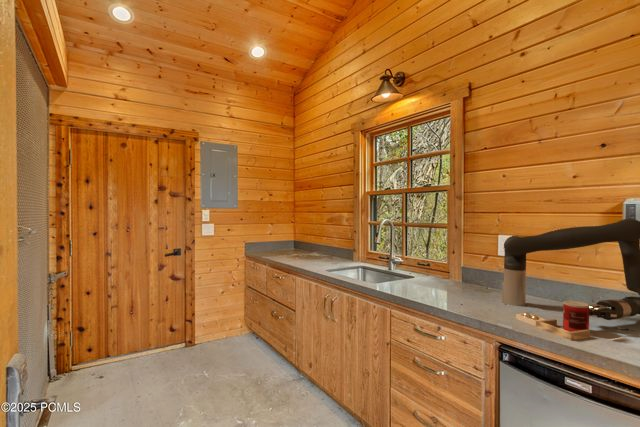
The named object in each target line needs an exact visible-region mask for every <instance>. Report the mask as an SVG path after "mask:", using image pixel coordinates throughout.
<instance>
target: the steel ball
mask: <svg viewBox="0 0 640 427" xmlns="http://www.w3.org/2000/svg"><path fill="white" fill-rule="evenodd" d="M531 315H532V314H531ZM531 315H530V313H529V312H528V311H527V312H524V313H523V316H525V317H527V318H530V319H531Z"/></svg>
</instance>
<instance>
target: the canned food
mask: <svg viewBox="0 0 640 427" xmlns="http://www.w3.org/2000/svg"><path fill="white" fill-rule="evenodd" d="M589 306H590V305H589V303H585V302H583V301H578V300H563V308H562V315H563V316H562V329H563V330H566V331H569V332H573V331H580V330H590V316H589Z"/></svg>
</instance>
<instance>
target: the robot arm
mask: <svg viewBox="0 0 640 427" xmlns="http://www.w3.org/2000/svg"><path fill="white" fill-rule="evenodd" d="M614 242H615V243H616V242H617V243H618V246H619V249H620V254H621V259H622V265H623V266H622V267H623V272H624V274H623V275H624V280H625V286H626V289H627V291H630V292H634V293H636V294H638V295H639V296H625V297H623V298H618V299H617V298H611V299H603V300H599V301H597V303H594V304H593V305H592V304H591V305H589V317H597V318H599V319H600V318H601V319H603V320H606V321H613V320H620V319H625V318H629V317H634V316H637V315H640V220H637V219H634V218H624V219H621V220H618V221H615V222H612V223H607V224H601V225H591V226H590V225H589V226H588V225H587V226H585V225H584V226H572V227H566V228H560V229H554V230H551V231H547V232H544V233H541V234H535V235H529V236H527V235H526V236H519V235H511V236H510V237H508V238H506V240H505V241H504V244H503V249H504V258H503V260H504V261H503V264H504V265H503V282H502V283H501V303H503V304H504V305H508V306H515V307H524V306H526V305H527V304H526V301H527V299H526V298H527V297H526V296H527V294H526V292H527V290H526V289H527V254H530V253H536V252H543V251H561V250H570V249H577V248H584V247H588V246H589V247H590V246H593V245H598V244H604V243H614Z"/></svg>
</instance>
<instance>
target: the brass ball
mask: <svg viewBox="0 0 640 427" xmlns="http://www.w3.org/2000/svg"><path fill="white" fill-rule="evenodd" d="M532 315H533V314H532ZM531 319H533V320H540V319H539V316H538V315H536V314H534V315H533V316H532V317H531Z"/></svg>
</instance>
